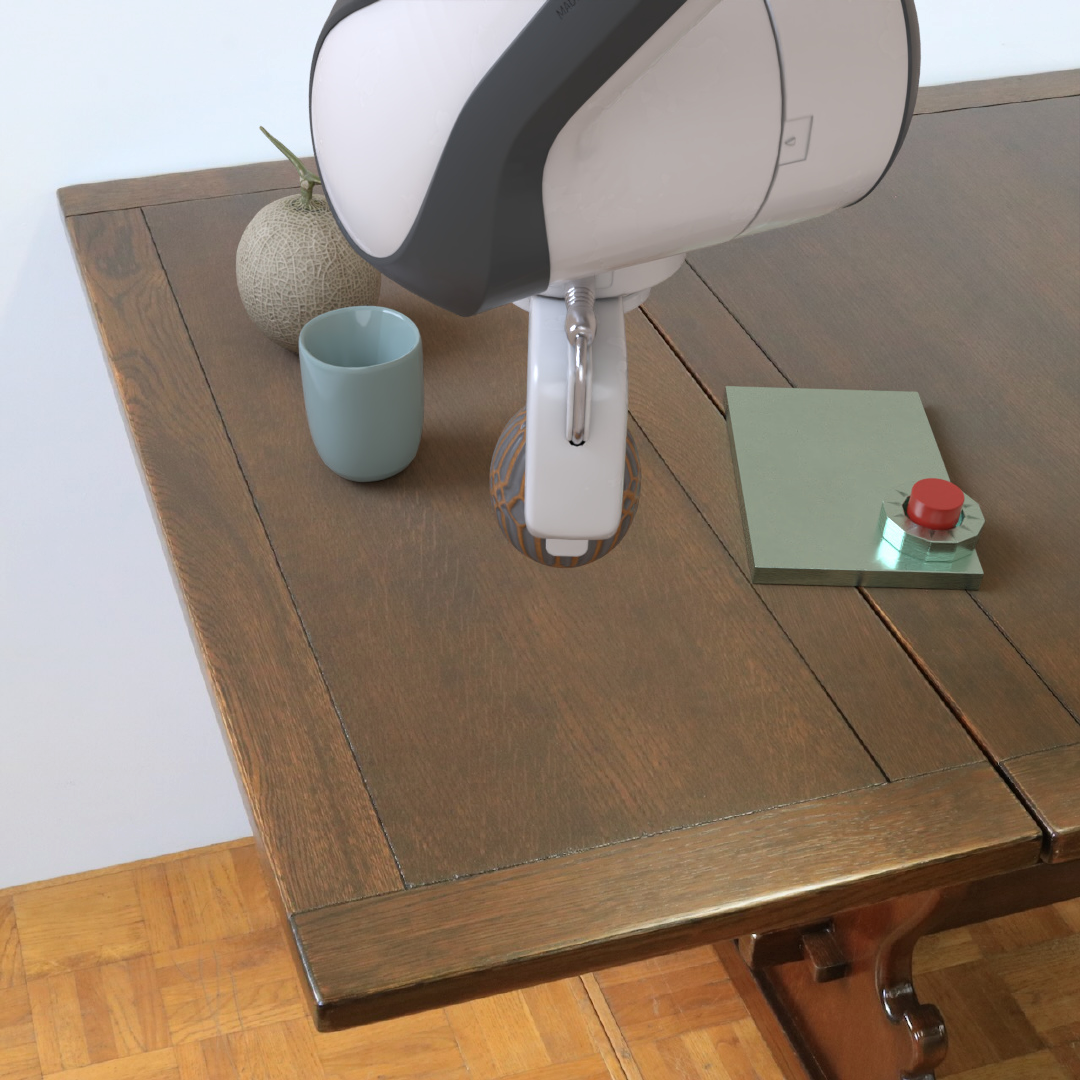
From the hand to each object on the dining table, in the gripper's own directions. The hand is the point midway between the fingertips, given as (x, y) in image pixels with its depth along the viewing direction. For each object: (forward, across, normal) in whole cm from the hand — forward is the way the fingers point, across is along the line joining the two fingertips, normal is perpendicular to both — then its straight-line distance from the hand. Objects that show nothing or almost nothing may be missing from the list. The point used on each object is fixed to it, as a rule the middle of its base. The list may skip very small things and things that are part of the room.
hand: (565, 487), depth 61 cm
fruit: (+17, +40, +18) cm, 47 cm away
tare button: (+15, +17, -24) cm, 32 cm away
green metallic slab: (+17, +23, -19) cm, 34 cm away
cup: (+17, +24, +13) cm, 32 cm away
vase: (+3, 0, 0) cm, 3 cm away
